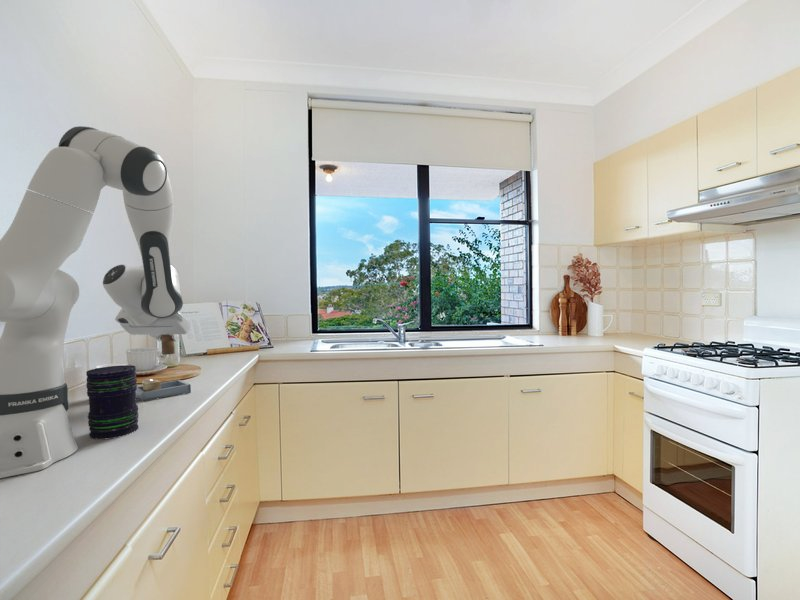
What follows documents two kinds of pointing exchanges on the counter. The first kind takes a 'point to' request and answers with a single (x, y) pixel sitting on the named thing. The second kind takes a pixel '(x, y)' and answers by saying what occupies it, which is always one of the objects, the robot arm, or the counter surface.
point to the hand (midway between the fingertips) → (169, 339)
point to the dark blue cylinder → (112, 401)
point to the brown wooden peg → (167, 344)
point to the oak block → (151, 385)
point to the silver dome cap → (147, 380)
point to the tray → (164, 390)
